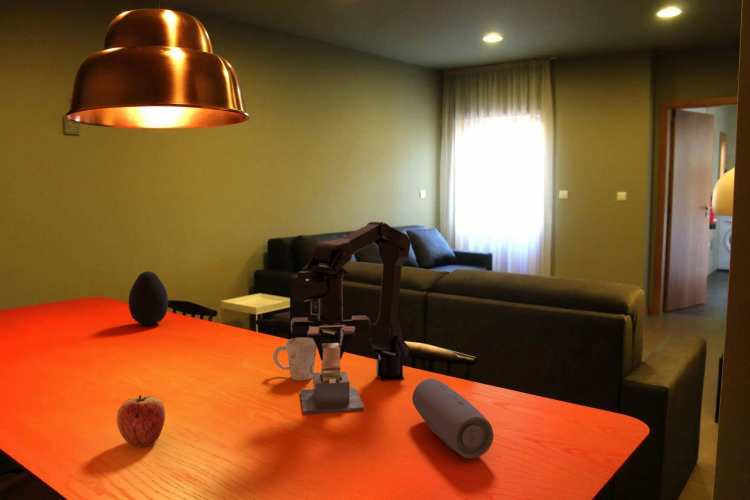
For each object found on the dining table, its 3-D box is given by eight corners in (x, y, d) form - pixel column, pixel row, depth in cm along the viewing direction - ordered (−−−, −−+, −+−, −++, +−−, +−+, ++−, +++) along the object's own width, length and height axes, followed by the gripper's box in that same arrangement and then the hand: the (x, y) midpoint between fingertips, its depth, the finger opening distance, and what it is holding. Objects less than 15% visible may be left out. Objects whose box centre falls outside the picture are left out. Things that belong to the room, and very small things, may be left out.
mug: (311, 383, 155) (311, 346, 154) (267, 379, 158) (266, 343, 157) (321, 373, 163) (320, 338, 162) (278, 370, 166) (277, 335, 165)
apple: (118, 456, 113) (115, 406, 112) (117, 438, 121) (115, 391, 120) (167, 448, 117) (166, 400, 115) (164, 431, 125) (163, 385, 124)
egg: (159, 318, 228) (158, 267, 226) (174, 325, 218) (173, 271, 216) (123, 324, 219) (121, 271, 216) (137, 331, 209) (135, 275, 206)
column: (338, 377, 144) (338, 342, 143) (340, 383, 140) (340, 347, 139) (321, 378, 144) (321, 343, 143) (322, 384, 139) (322, 348, 138)
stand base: (355, 389, 150) (355, 363, 150) (363, 410, 137) (364, 381, 136) (300, 392, 148) (300, 365, 147) (303, 414, 134) (303, 384, 134)
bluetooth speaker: (496, 461, 112) (497, 411, 111) (451, 468, 110) (452, 416, 108) (448, 416, 134) (449, 374, 133) (409, 421, 131) (410, 377, 130)
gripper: (364, 288, 149) (364, 348, 151) (290, 290, 146) (290, 351, 147) (371, 297, 138) (371, 361, 140) (291, 299, 135) (292, 365, 137)
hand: (330, 359), depth 141 cm, fingers closed on column, 4 cm apart
